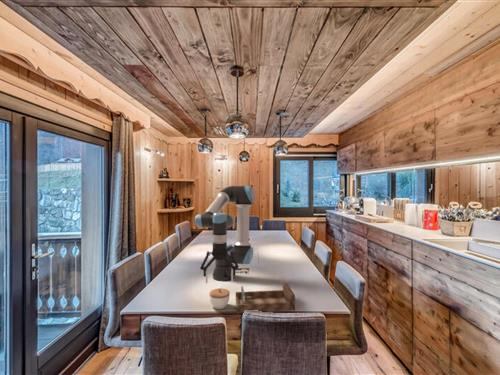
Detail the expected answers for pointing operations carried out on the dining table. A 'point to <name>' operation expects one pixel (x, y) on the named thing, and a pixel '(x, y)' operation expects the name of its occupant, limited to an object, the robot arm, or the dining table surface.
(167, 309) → the dining table surface
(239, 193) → the robot arm
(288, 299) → the wooden tray
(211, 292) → the lidded jar
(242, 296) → the pusher
